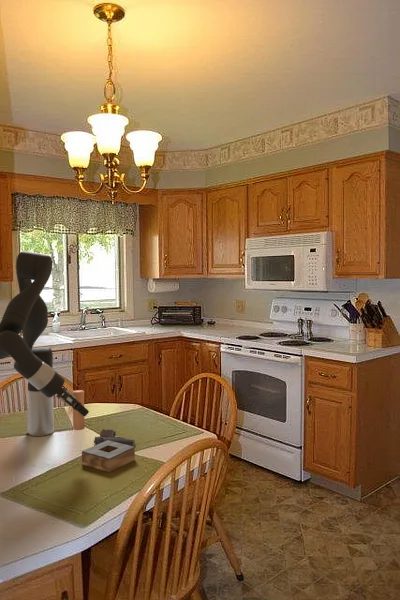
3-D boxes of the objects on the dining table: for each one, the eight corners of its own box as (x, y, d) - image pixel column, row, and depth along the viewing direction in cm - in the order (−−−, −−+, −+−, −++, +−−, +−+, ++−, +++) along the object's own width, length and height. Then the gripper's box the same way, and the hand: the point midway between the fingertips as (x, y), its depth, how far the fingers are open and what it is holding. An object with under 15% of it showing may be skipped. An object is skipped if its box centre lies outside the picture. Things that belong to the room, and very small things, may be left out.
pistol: (141, 438, 184) (133, 449, 172) (102, 435, 186) (91, 446, 174) (141, 430, 184) (133, 440, 172) (102, 428, 186) (91, 438, 174)
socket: (82, 464, 157) (81, 451, 157) (108, 452, 167) (107, 440, 167) (109, 472, 151) (109, 458, 151) (134, 459, 161) (134, 446, 161)
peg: (70, 428, 156) (70, 392, 156) (79, 425, 159) (78, 389, 159) (78, 430, 154) (77, 393, 154) (87, 427, 157) (86, 391, 157)
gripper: (59, 374, 146) (99, 408, 152) (49, 366, 158) (86, 398, 165) (41, 393, 144) (83, 427, 150) (32, 384, 156) (71, 415, 163)
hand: (84, 412), depth 157 cm, fingers closed on peg, 3 cm apart
